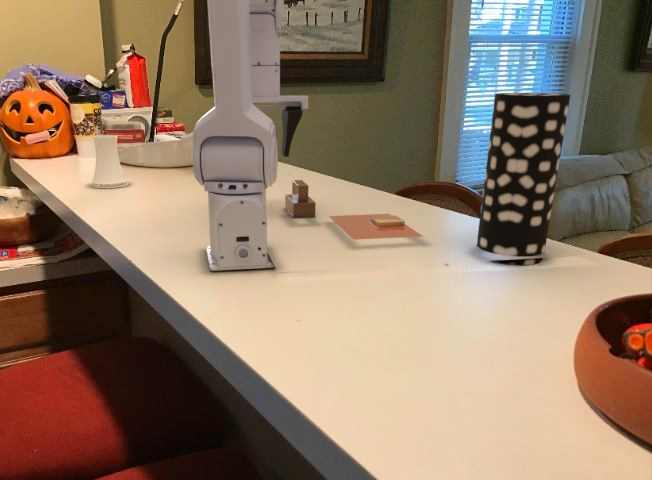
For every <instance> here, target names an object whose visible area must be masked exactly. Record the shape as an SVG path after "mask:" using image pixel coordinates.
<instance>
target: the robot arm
mask: <svg viewBox="0 0 652 480" xmlns="http://www.w3.org/2000/svg"><path fill="white" fill-rule="evenodd" d="M206 2H207V15H208V16H207V17H208V29H209V31H208V32H209V45H210V58H211V61H210V62H211V72H212V73H211V74H212V87H213V100H214V101H213V102H214V104H213V105H214V107H212V109H210V110H209V111H207V112H206V113H205V114H204V115H202V116H201V117H200V118H199V120H197V122H196V123H195V126H194V129H193V131H192V133H193V165H192V170H193V175H194V178H195V180H196V181H197V182H198V184H199V185H200V186H203V191H204V192H207V202H208V203H207V205H208V225H209V229H208V230H209V246H206V247H205V253H206V257H207V261H208V266H209V270H210V271H213V272H215V271H216V272H218V271H234V270H238V271H239V270H255V269H257V270H258V269H272V268H275V267H276V265H275V263H274V262H273V260H272V257H271V255H270V254H269V252H268V219H267V189H268V188H271V187H272V186H273V185H274V184H275V183H276V181H277V177H278V165H279V164H278V163H279V160H278V159H279V152H278V151H279V149H278V140H277V136H276V135H277V134H276V125H275V124H274V120H272V118H271V117H269V116H268V115H267V114H266V113H264V112H263V111H262V110H282V111H281V123H282V143H281V155H282V156H283V157H284V158H286V157H287V158H288V157H290V151H291V150H290V149H291V145H292V141H293V138H294V135H295V132H296V130H297V127H298V126H299V123H300V121H301V119H302V117H303V113H304V110H308V109H309V95H281V34H282V28H283V27H282V26H283V15H284V9H285V6H284V5H285V0H206ZM254 103H255V104H256V103H257V104H258V103H259V104H262V103H263V104H264V103H265V104H267V103H270V104H272V105H270V104H269V105H255V104H254Z"/></svg>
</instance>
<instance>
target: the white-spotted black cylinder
mask: <svg viewBox="0 0 652 480" xmlns="http://www.w3.org/2000/svg"><path fill="white" fill-rule="evenodd" d="M570 100H571V94H569V93H568V94H567V93H551V92H550V93H549V92H499V93H495V94H494V101H493V106H492V107H493V108H492V109H493V110H492V117H491V123H490V133H489V140H488V141H489V142H488V147H487V148H488V149H487V158H486V166H485V173H484V183H483V190H482V198H481V205H480V213H479V222H478V231H477V238H476V247H477V248H478V249H480V250H481V251H484V252H487V253H490V254H494V255H499V256H506V257H507V256H508V257H518V258H512V259H495V260H490V262H492V263H495V264H503V265H510V266H530V265H536V264H539V263H542V262H543V261H544V257H535V256H539V255H540V256H541V255H542V254H544V253H545V252H546V247H547V246H546V245H547V240H548V234H549V229H550V228H549V227H550V222H551V216H552V209H553V204H554V197H555V191H556V187H557V186H556V185H557V179H558V173H559V169H560V168H559V167H560V160H561V155H562V150H563V149H562V148H563V142H564V137H565V131H566V124H567V119H568V113H569V106H570ZM519 257H530V258H519ZM531 257H532V258H531ZM533 257H534V258H533Z"/></svg>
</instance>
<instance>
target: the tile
mask: <svg viewBox="0 0 652 480" xmlns="http://www.w3.org/2000/svg"><path fill="white" fill-rule="evenodd" d="M384 215H392V214H390V213H370V214H345V215H344V214H343V215H329V216H328V217H329V219H331V220H332V221H333V222H334V223H335V224H336V225H337V226H339V228H340V229H342V230H343V231H344V232H345V233H346V234H347V235H348V236H349V237H350V238H351V239H352V240H355V241H356V240H374V239H395V238H397V239H398V238H416V237H418V238H419V237H420V238H421V237H423V234H420V232H417V231H416V230H415V229H413V228H411V227H410V226H409V225H407V224H406V223H405V224H404V226H384V227H378V226H377V225H376V224H374V223H373V222H372V221H370V216H384Z"/></svg>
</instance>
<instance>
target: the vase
mask: <svg viewBox="0 0 652 480" xmlns="http://www.w3.org/2000/svg"><path fill="white" fill-rule="evenodd" d="M92 138H93V139H92V140H93V143H94V148H95V166H94V167H95V168H94V174H93V178H92V179H91V180H90V182H91V185H90V187H92V188H95V189H96V188H97V189H115V188H122V187H127V186H128V185H129V182H128V181H129V179H128V178H127V177H126V175H125V173H124V170H123V167H122V165H121V162H120V161H119V157H118V150H119V149H118V135H116V134H98V135H97V134H96V135H93V136H92Z"/></svg>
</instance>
